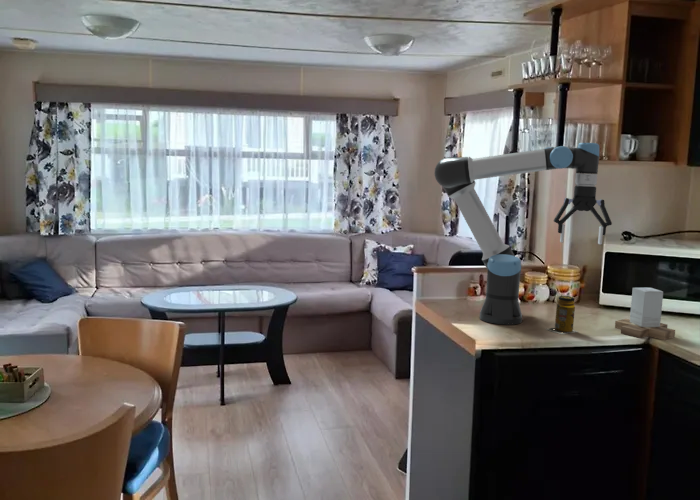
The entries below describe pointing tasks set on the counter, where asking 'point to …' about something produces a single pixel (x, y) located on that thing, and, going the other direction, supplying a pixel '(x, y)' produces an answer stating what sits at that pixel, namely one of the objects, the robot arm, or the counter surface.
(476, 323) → the counter surface
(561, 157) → the robot arm
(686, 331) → the counter surface
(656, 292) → the supplement box
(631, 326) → the cross stand
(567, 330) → the condiment
